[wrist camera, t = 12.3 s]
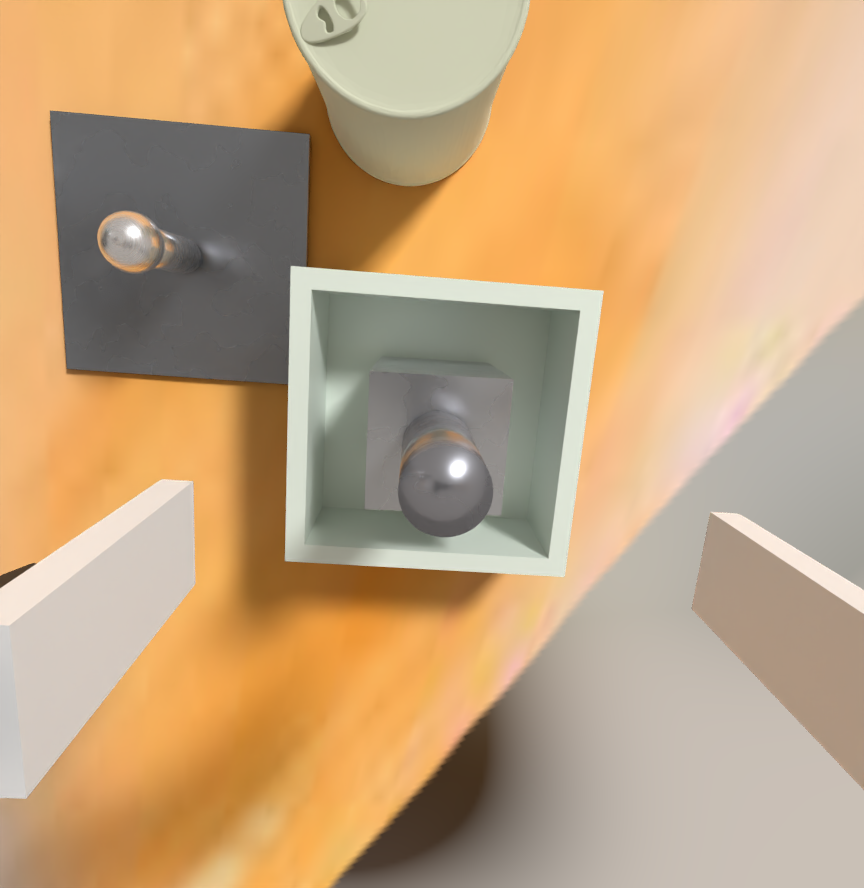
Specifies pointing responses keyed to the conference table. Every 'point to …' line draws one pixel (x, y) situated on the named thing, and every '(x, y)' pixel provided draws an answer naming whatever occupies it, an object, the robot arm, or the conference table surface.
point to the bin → (442, 338)
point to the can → (408, 77)
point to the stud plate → (184, 202)
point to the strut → (437, 441)
